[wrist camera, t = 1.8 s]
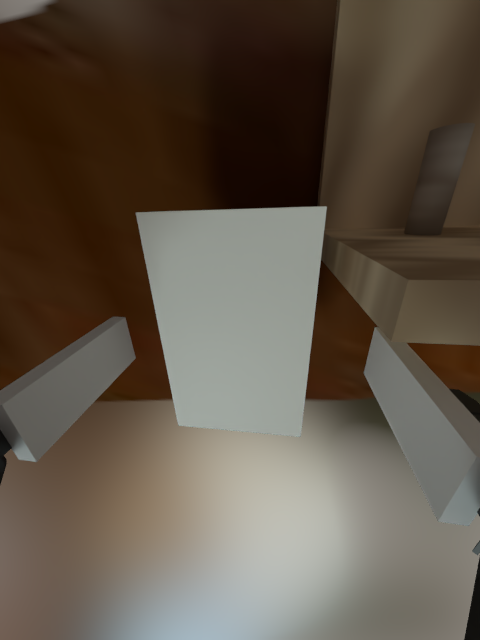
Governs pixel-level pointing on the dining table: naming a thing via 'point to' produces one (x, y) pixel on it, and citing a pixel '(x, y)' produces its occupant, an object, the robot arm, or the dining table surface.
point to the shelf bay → (406, 166)
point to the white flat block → (236, 311)
